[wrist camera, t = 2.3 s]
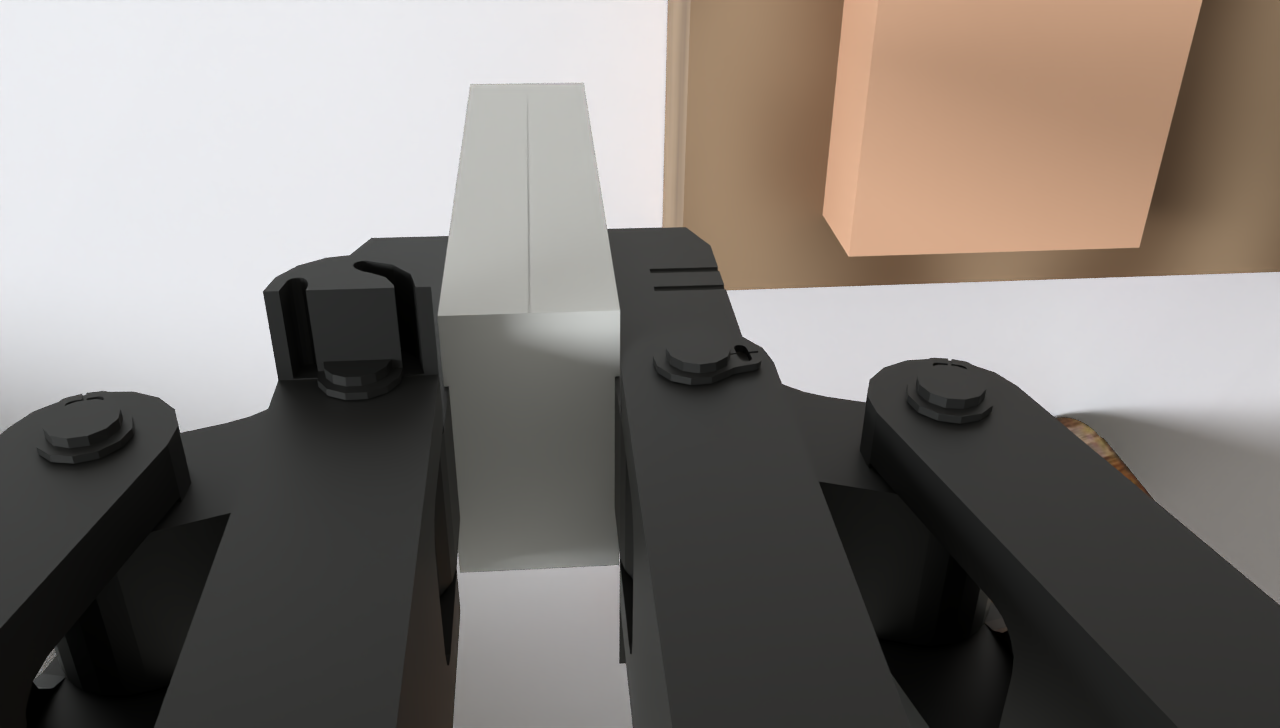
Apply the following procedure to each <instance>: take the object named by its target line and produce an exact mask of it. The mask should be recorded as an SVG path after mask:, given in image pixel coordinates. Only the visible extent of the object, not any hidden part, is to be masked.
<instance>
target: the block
mask: <svg viewBox="0 0 1280 728" xmlns="http://www.w3.org/2000/svg"><path fill="white" fill-rule="evenodd" d="M1201 4H1202V0H844V7H843V17H842V27H841V37H840V47H839V56H838V66H837V76H836V86H835V96H834V106H833V116H832V126H831V136H830V146H829V156H828V166H827V176H826V186H825V196H824V206H823V216H824V218H825V220H826V221H827V223H828V224H829V226H830V228H831V229H832V231H833V232H834V234H835V236H836V237H837V239H838V240H839V242H840V244H841V245H842V247H843V248H844V250H845V252H846V253H847V255H848V256H849V257H854V256H886V255H918V254H951V253H983V252H1015V251H1047V250H1079V249H1112V248H1139V247H1140V243H1141V239H1142V235H1143V231H1144V227H1145V223H1146V219H1147V215H1148V211H1149V207H1150V204H1151V200H1152V196H1153V192H1154V188H1155V184H1156V180H1157V176H1158V172H1159V168H1160V164H1161V161H1162V157H1163V153H1164V149H1165V145H1166V141H1167V137H1168V133H1169V129H1170V125H1171V121H1172V118H1173V114H1174V110H1175V106H1176V102H1177V98H1178V94H1179V90H1180V86H1181V82H1182V78H1183V75H1184V71H1185V67H1186V63H1187V59H1188V55H1189V51H1190V47H1191V43H1192V39H1193V35H1194V32H1195V28H1196V24H1197V20H1198V16H1199V12H1200V8H1201Z"/></svg>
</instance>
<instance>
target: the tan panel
mask: <svg viewBox="0 0 1280 728" xmlns="http://www.w3.org/2000/svg"><path fill="white" fill-rule="evenodd" d="M843 7H844V0H668V18H667V60H666V101H665V143H664V184H663V226H662V228H671V227H686V228H688V229H689V230H690V231H692V232H693V233H694V234H696V235H697V236H698V237H700V238H701V239H702V240H704V241H705V242H706V243H708V244H709V245H711V248H712V251H713V254H714V257H715V260H716V263H717V266H718V271H720V274H721V277H722V280H723V283H724V289H726V290H748V289H778V288H808V287H838V286H868V285H897V284H927V283H957V282H987V281H1017V280H1047V279H1076V278H1106V277H1136V276H1166V275H1196V274H1226V273H1256V272H1280V0H1202V4H1201V8H1200V12H1199V16H1198V20H1197V24H1196V28H1195V32H1194V35H1193V39H1192V43H1191V47H1190V51H1189V55H1188V59H1187V63H1186V67H1185V71H1184V75H1183V78H1182V82H1181V86H1180V90H1179V94H1178V98H1177V102H1176V106H1175V110H1174V114H1173V118H1172V121H1171V125H1170V129H1169V133H1168V137H1167V141H1166V145H1165V149H1164V153H1163V157H1162V161H1161V164H1160V168H1159V172H1158V176H1157V180H1156V184H1155V188H1154V192H1153V196H1152V200H1151V204H1150V207H1149V211H1148V215H1147V219H1146V223H1145V227H1144V231H1143V235H1142V239H1141V243H1140V247H1139V248H1112V249H1079V250H1047V251H1015V252H983V253H951V254H918V255H886V256H854V257H849V256H848V255H847V253H846V252H845V250H844V248H843V247H842V245H841V244H840V242H839V240H838V239H837V237H836V236H835V234H834V232H833V231H832V229H831V228H830V226H829V224H828V223H827V221H826V220H825V218H824V216H823V206H824V196H825V186H826V176H827V166H828V156H829V146H830V136H831V126H832V116H833V106H834V96H835V86H836V76H837V66H838V56H839V47H840V37H841V27H842V17H843Z"/></svg>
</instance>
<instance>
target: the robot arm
mask: <svg viewBox="0 0 1280 728" xmlns="http://www.w3.org/2000/svg"><path fill="white" fill-rule="evenodd" d="M263 294H264V300H265V306H266V311H267V317H268V323H269V329H270V334H271V340H272V346H273V352H274V357H275V363H276V369H277V374H278V380H279V381H278V383H277V386H276V389H275V392H274V395H273V397H272V400H271V403H270V406H269V408H268V409H267V410H265V411H262V412H260V413H258V414H255V415H253V416H251V417H247V418H243V419H240V420H236V421H233V422H229V423H225V424H221V425H216V426H211V427H207V428H202V429H197V430H193V431H188V432H183V433H180V430H179V426H178V422H177V418H176V413H175V409H173V408H172V407H171V406H169V405H168V404H167V403H165V402H164V401H163V400H161V399H160V398H158V397H154V396H149V395H145V394H141V393H136V392H106V391H100V392H91V393H86V395H84V396H82V394H80V395H76V396H71V397H67V398H65V399H62V400H61V401H59V402H57V403H55V404H52V405H49V406H47V407H44V408H42V409H39V410H36V411H34V412H32V413H31V414H29V415H28V416H26V417H25V418H23V419H22V420H20V421H18V422H17V423H15V424H14V425H12V426H11V427H9V428H8V429H7V430H5V431H4V432H3V433H2V434H1V435H0V728H453V714H454V699H455V683H456V668H457V653H458V638H459V623H460V602H459V591H458V580H457V569H456V567H457V554H458V553H459V565H460V573H464V572H484V571H505V570H525V569H545V568H566V567H586V566H607V565H619V552H620V659H619V663H626V666H627V676H628V686H629V695H630V705H631V715H632V724H633V728H1280V605H1279V604H1277V603H1276V602H1275V601H1274V600H1273V599H1271V598H1270V597H1269V596H1268V595H1267V594H1265V593H1264V592H1263V591H1262V590H1261V589H1260V588H1258V587H1257V586H1256V585H1255V584H1254V583H1252V582H1251V581H1250V580H1249V579H1248V578H1246V577H1245V576H1244V575H1243V574H1242V573H1240V572H1239V571H1238V570H1237V569H1236V568H1234V567H1233V566H1232V565H1231V564H1230V563H1228V562H1227V561H1226V560H1225V559H1224V558H1222V557H1221V556H1220V555H1219V554H1218V553H1216V552H1215V551H1214V550H1213V549H1212V548H1210V547H1209V546H1208V545H1207V544H1206V543H1204V542H1203V541H1202V540H1201V539H1200V538H1198V537H1197V536H1196V535H1195V534H1194V533H1192V532H1191V531H1190V530H1189V529H1188V528H1186V527H1185V526H1184V525H1183V524H1182V523H1180V522H1179V521H1178V520H1177V519H1176V518H1174V517H1173V516H1172V515H1171V514H1170V513H1168V512H1167V511H1166V510H1165V509H1164V508H1163V507H1161V506H1160V505H1159V504H1158V503H1157V502H1155V501H1154V500H1153V499H1152V498H1151V497H1149V496H1148V495H1147V494H1146V493H1145V492H1143V491H1142V490H1141V489H1140V488H1139V487H1137V486H1136V485H1135V484H1134V483H1133V482H1131V481H1130V480H1129V479H1128V478H1127V477H1125V476H1124V475H1123V474H1122V473H1121V472H1119V471H1118V470H1117V469H1116V468H1115V467H1113V466H1112V465H1111V464H1110V463H1109V462H1107V461H1106V460H1105V459H1104V458H1103V457H1101V456H1100V455H1099V454H1098V453H1097V452H1095V451H1094V450H1093V449H1092V448H1091V447H1089V446H1088V445H1087V444H1086V443H1085V442H1083V441H1082V440H1081V439H1080V438H1079V437H1077V436H1076V435H1075V434H1074V433H1073V432H1071V431H1070V430H1069V429H1068V428H1067V427H1065V426H1064V425H1063V424H1062V423H1061V422H1060V421H1058V420H1057V419H1056V418H1055V417H1054V416H1052V415H1051V414H1050V413H1049V412H1048V411H1046V410H1045V409H1044V408H1043V407H1042V406H1040V405H1039V404H1038V403H1037V402H1036V401H1034V400H1033V399H1032V398H1031V397H1030V396H1028V395H1027V394H1026V393H1025V392H1024V391H1022V390H1021V389H1020V388H1019V387H1018V386H1016V385H1014V384H1013V383H1011V382H1009V381H1008V380H1006V379H1005V378H1003V377H1001V376H1000V375H998V374H996V373H995V372H992V371H989V370H986V369H983V368H980V367H977V366H974V365H971V364H970V363H968V362H964V361H959V360H954V359H952V360H951V361H948V359H945V358H930V359H923V360H907V361H903V362H900V363H897V364H894V365H891V366H888V367H884V368H883V369H882V370H881V371H879V372H878V373H877V374H876V375H875V376H874V377H873V378H871V379H870V382H869V388H868V393H867V400H866V403H865V402H859V401H852V400H845V399H838V398H831V397H825V396H820V395H816V394H811V393H806V392H802V391H800V390H797V389H794V388H791V387H788V386H786V385H783V384H782V383H781V381H780V378H779V375H778V373H777V370H776V367H775V365H774V362H773V361H772V360H771V358H770V357H769V356H768V354H767V353H766V352H765V351H764V349H763V348H762V347H760V346H758V345H756V344H754V343H753V342H751V341H749V340H747V339H745V338H744V337H742V335H741V332H740V329H739V326H738V323H737V320H736V317H735V314H734V312H733V309H732V306H731V303H730V300H729V297H728V294H727V291H726V289H724V283H723V280H722V277H721V274H720V271H718V266H717V263H716V260H715V257H714V254H713V251H712V248H711V245H709V244H708V243H706V242H705V241H704V240H702V239H701V238H700V237H698V236H697V235H696V234H694V233H693V232H692V231H690V230H689V229H688V228H686V227H671V228H629V229H607V225H606V219H605V213H604V207H603V200H602V194H601V188H600V182H599V176H598V169H597V163H596V157H595V151H594V144H593V138H592V132H591V126H590V119H589V113H588V107H587V101H586V94H585V88H584V83H536V84H470V90H469V97H468V104H467V111H466V118H465V125H464V132H463V140H462V147H461V154H460V161H459V168H458V175H457V182H456V189H455V196H454V203H453V210H452V217H451V224H450V231H449V236H438V237H397V238H371V239H370V240H368V241H367V242H366V243H365V244H363V245H362V246H361V247H360V248H358V249H357V250H356V251H355V252H353V253H352V254H351V255H349V256H339V257H330V258H324V259H321V260H317V261H313V262H310V263H306V264H302V265H299V266H296V267H295V268H293V269H291V270H289V271H287V272H285V273H283V274H281V275H279V276H277V277H275V279H274V280H273V281H272V282H271V283H270V284H269V285H268V286H267V288H266V289H265V290H264V291H263ZM991 601H992V602H993V603H992V602H991ZM54 648H55V651H56V654H57V656H56V657H55V658H54V659H53V661H52V662H51V663H50V664H49V666H48V667H47V668H46V669H45V670H44V672H43V673H42V674H41V675H39V676H38V677H37V678H36V679H35V680H34V678H35V677H36V675H37V673H38V671H39V670H40V668H41V666H42V665H43V663H44V661H45V659H46V658H47V656H48V655H49V654H50V652H51V651H52V650H53V649H54Z"/></svg>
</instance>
